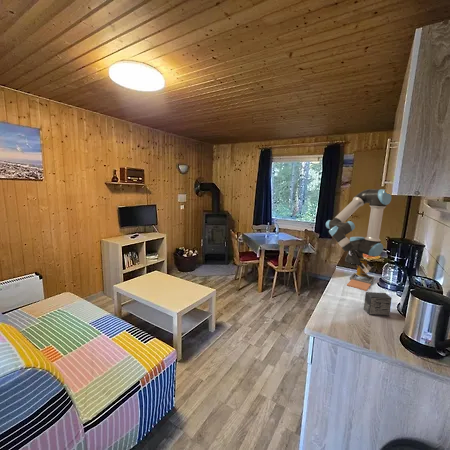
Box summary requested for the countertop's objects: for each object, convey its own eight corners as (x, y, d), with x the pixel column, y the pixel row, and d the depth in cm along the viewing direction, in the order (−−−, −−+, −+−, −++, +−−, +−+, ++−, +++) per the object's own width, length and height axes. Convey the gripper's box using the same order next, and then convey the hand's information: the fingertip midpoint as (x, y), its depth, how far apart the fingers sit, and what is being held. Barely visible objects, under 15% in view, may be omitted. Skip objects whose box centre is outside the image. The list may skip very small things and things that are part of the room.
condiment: (354, 273, 175) (355, 257, 173) (365, 273, 174) (367, 257, 173) (358, 276, 168) (360, 260, 166) (371, 277, 167) (373, 260, 165)
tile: (351, 280, 170) (351, 279, 170) (370, 285, 162) (370, 284, 162) (346, 285, 161) (346, 284, 161) (366, 291, 153) (366, 289, 153)
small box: (383, 310, 130) (385, 292, 129) (390, 316, 124) (392, 298, 122) (362, 308, 131) (365, 291, 130) (368, 315, 125) (371, 296, 123)
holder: (354, 274, 181) (354, 272, 180) (374, 279, 172) (374, 277, 172) (349, 279, 171) (349, 277, 171) (370, 285, 163) (370, 282, 162)
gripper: (345, 244, 185) (367, 269, 177) (337, 250, 171) (360, 277, 163) (353, 239, 181) (376, 264, 173) (346, 244, 167) (370, 272, 159)
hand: (368, 270), depth 168 cm, fingers closed on condiment, 6 cm apart
